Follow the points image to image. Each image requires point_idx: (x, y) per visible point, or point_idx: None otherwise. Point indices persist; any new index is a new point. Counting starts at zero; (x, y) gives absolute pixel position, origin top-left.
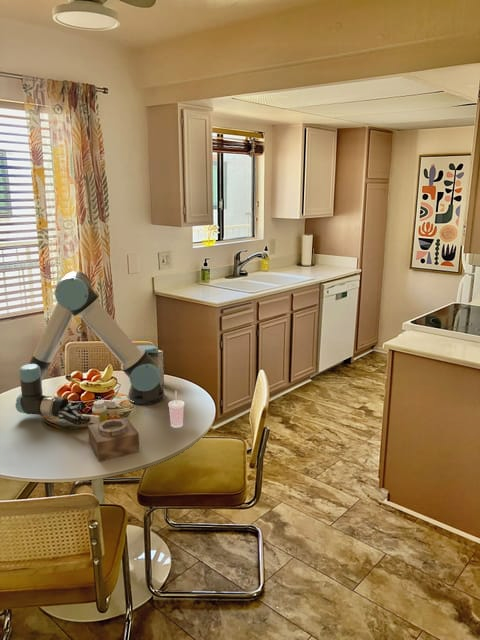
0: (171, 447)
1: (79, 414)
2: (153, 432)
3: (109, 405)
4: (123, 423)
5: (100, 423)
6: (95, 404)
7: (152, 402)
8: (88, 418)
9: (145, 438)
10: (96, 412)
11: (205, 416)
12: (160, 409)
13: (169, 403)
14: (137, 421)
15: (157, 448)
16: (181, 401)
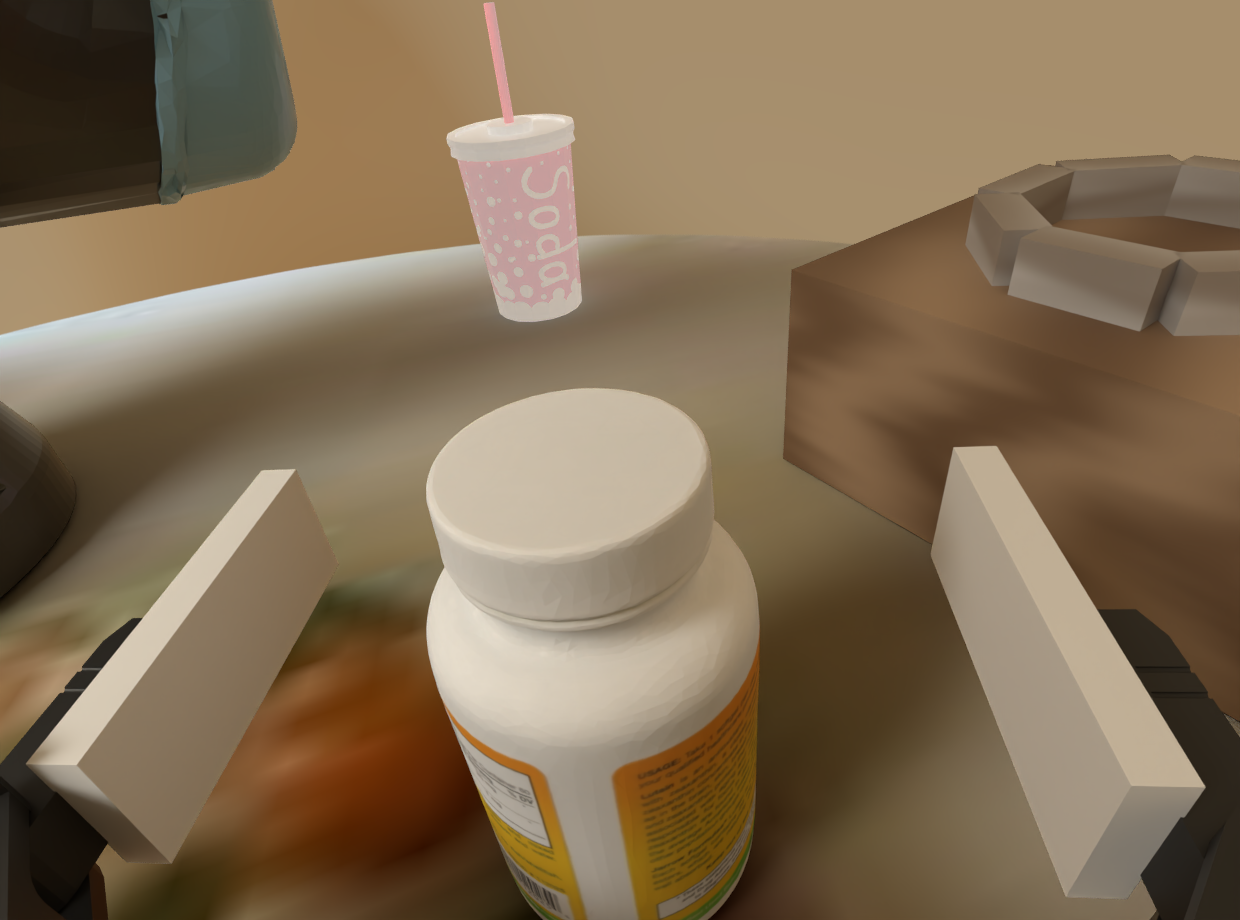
0: None
1: (1216, 914)
2: (680, 352)
3: (278, 609)
4: (1048, 177)
5: (1154, 374)
6: (708, 479)
7: (67, 475)
8: (1133, 613)
9: None
10: (754, 599)
11: (421, 258)
12: (238, 420)
13: (508, 141)
14: None
15: None
16: (471, 128)
